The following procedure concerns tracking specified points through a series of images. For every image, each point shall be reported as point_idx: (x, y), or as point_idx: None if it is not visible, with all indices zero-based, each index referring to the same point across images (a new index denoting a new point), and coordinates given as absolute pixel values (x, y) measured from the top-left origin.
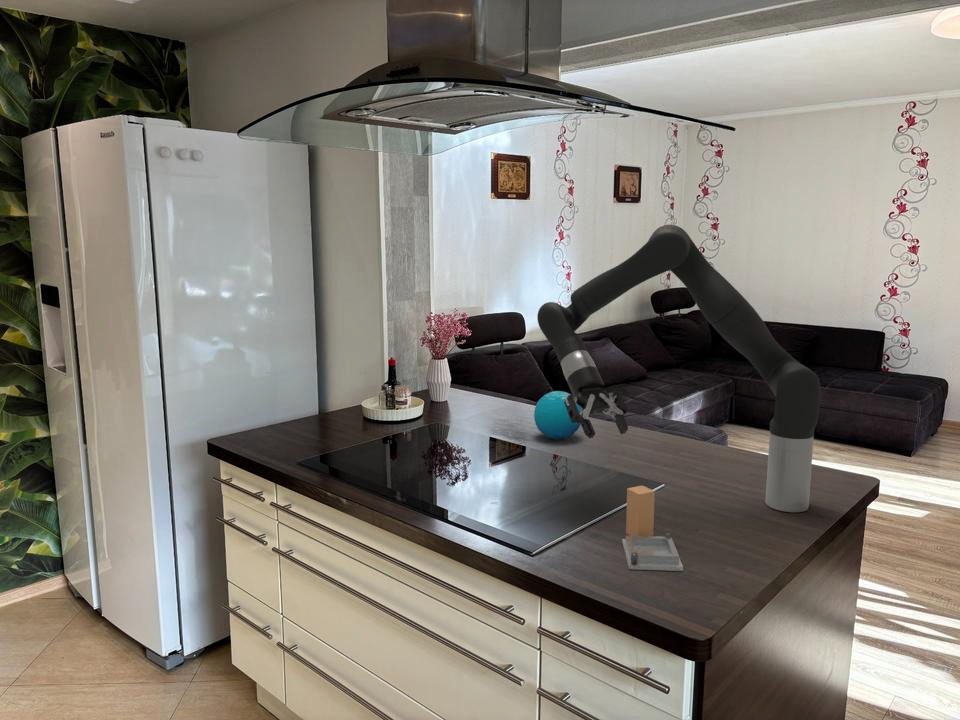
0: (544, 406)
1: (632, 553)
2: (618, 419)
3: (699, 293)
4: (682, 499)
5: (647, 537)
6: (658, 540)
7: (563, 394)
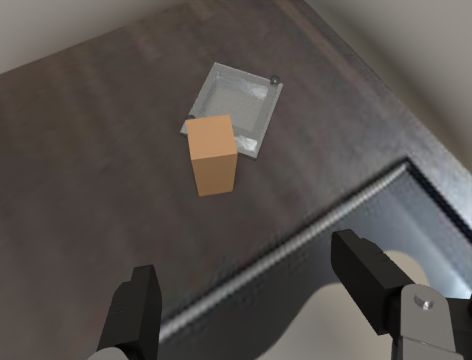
0: None
1: (277, 81)
2: (145, 340)
3: None
4: (9, 327)
5: None
6: None
7: None
